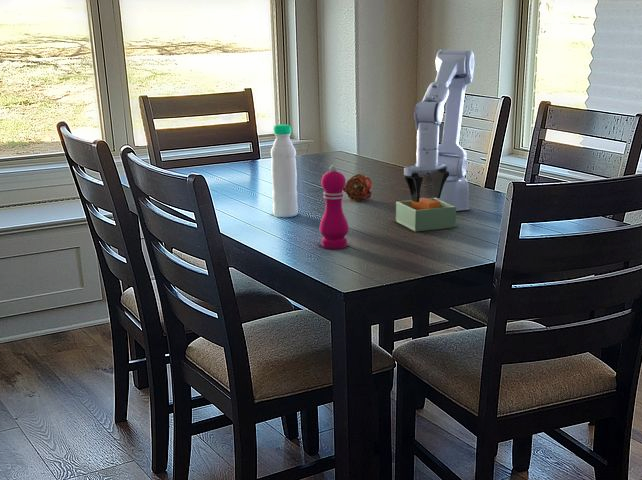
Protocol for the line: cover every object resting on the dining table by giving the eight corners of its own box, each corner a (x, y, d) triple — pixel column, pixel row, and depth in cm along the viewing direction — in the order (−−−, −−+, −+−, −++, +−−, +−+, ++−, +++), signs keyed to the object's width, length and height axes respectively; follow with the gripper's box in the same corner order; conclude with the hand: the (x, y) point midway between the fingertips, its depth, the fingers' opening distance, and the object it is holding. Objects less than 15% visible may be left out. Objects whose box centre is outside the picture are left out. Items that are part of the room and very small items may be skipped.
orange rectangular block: (422, 218, 237) (423, 197, 235) (439, 223, 232) (440, 201, 229) (411, 220, 235) (412, 199, 232) (428, 225, 229) (429, 203, 227)
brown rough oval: (360, 209, 256) (353, 206, 268) (382, 191, 256) (374, 189, 268) (343, 187, 254) (336, 185, 265) (365, 169, 254) (357, 167, 265)
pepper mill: (319, 242, 216) (317, 162, 208) (347, 241, 216) (347, 162, 209) (320, 249, 209) (318, 167, 201) (349, 249, 210) (349, 167, 202)
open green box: (434, 217, 241) (435, 197, 239) (455, 227, 230) (456, 206, 228) (395, 221, 236) (396, 201, 234) (415, 231, 226) (415, 210, 224)
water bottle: (301, 213, 245) (299, 123, 235) (291, 218, 239) (288, 127, 229) (279, 211, 247) (276, 122, 237) (269, 216, 241) (265, 126, 231)
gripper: (437, 144, 232) (435, 193, 238) (396, 149, 224) (396, 200, 230) (455, 147, 227) (453, 197, 233) (414, 152, 219) (413, 205, 224)
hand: (426, 199), depth 231 cm, fingers open, 7 cm apart
